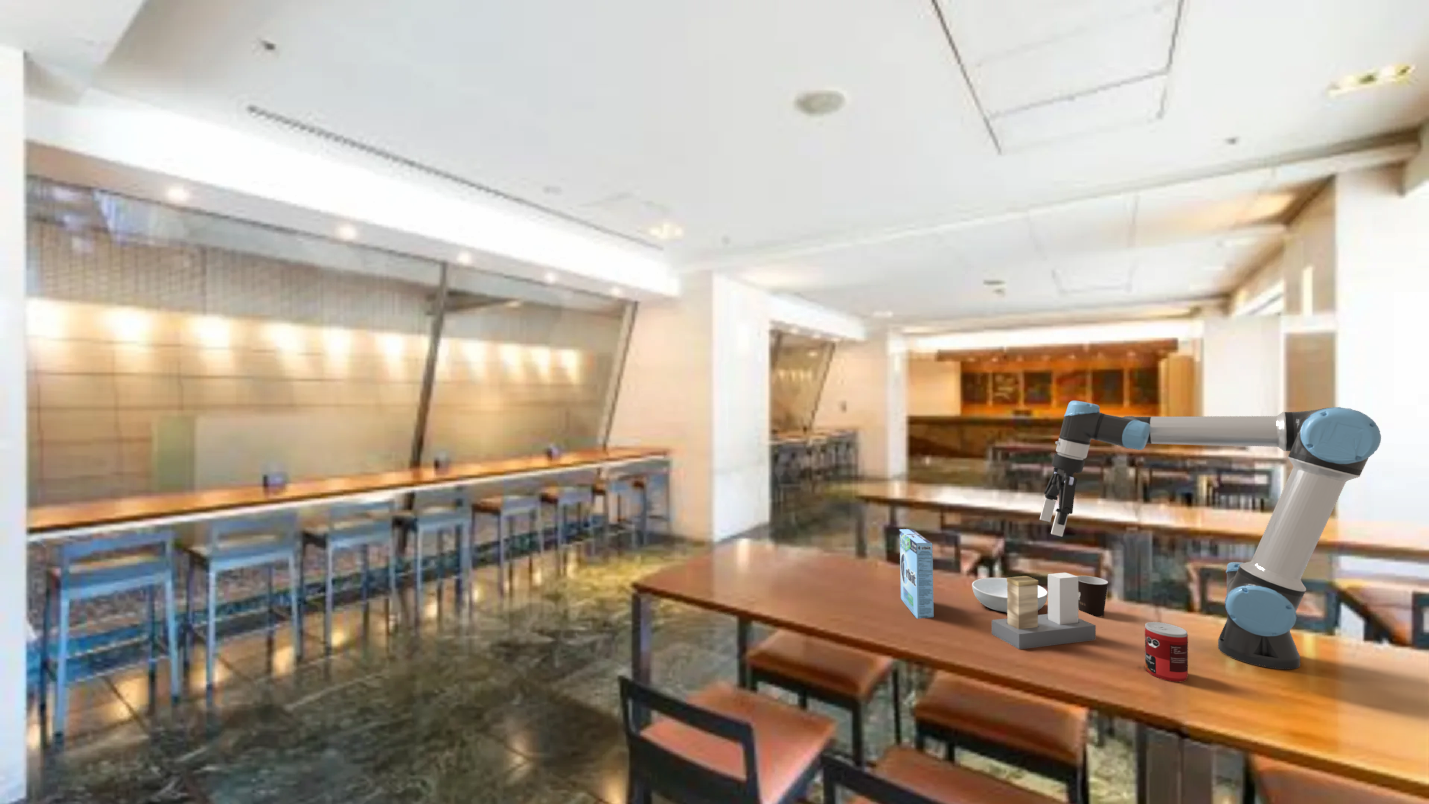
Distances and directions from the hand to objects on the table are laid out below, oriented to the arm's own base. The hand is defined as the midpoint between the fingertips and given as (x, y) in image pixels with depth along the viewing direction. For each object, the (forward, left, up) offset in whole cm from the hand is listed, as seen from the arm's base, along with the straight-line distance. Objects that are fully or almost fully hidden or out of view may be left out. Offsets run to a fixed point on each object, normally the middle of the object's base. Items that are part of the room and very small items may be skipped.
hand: (1050, 527), depth 166 cm
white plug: (-7, +3, -27) cm, 28 cm away
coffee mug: (+8, -22, -29) cm, 37 cm away
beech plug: (-7, +16, -27) cm, 32 cm away
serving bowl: (+16, +1, -29) cm, 33 cm away
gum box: (+23, +29, -29) cm, 46 cm away
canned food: (-30, -3, -29) cm, 42 cm away
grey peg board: (-7, +10, -28) cm, 31 cm away
